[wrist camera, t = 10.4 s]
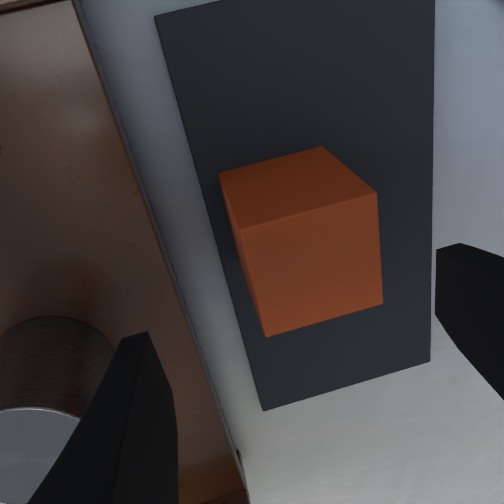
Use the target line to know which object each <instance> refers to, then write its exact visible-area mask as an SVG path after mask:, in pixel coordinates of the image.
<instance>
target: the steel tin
mask: <svg viewBox="0 0 504 504" xmlns="http://www.w3.org/2000/svg"><path fill="white" fill-rule="evenodd" d="M113 354H114V353H113V350H112V348H111V346H110V344H109V343H108V341H107V340H106V339H105V337H104V336H103V335H101V334H100V333H99V332H98V331H97V330H95V329H94V328H92V327H90V326H89V325H87V324H84V323H82V322H79V321H76V320H73V319H68V318H61V317H43V318H36V319H31V320H28V321H25V322H22V323H20V324H18V325H16V326H14V327H13V328H11V329H9V330H8V331H7V332H6V333H4V334H3V335H2V336H1V337H0V502H2V503H8V504H27V503H28V501H29V500H30V498H31V497H32V495H33V494H34V493H35V491H36V490H37V488H38V487H39V485H40V484H41V482H42V481H43V480H44V478H45V477H46V475H47V474H48V472H49V471H50V469H51V467H52V466H53V464H54V463H55V461H56V460H57V458H58V456H59V455H60V453H61V452H62V450H63V448H64V447H65V445H66V443H67V441H68V440H69V438H70V436H71V435H72V433H73V431H74V430H75V428H76V426H77V424H78V423H79V421H80V419H81V417H82V416H83V414H84V412H85V410H86V408H87V406H88V404H89V402H90V401H91V399H92V397H93V395H94V393H95V391H96V389H97V387H98V385H99V383H100V381H101V379H102V377H103V375H104V373H105V371H106V369H107V367H108V365H109V363H110V361H111V359H112V356H113Z"/></svg>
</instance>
